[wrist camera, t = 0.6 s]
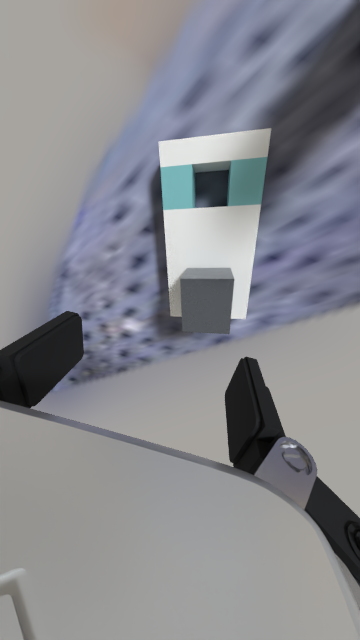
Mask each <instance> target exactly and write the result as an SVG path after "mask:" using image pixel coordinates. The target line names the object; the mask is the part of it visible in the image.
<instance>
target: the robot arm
mask: <svg viewBox="0 0 360 640" xmlns="http://www.w3.org/2000/svg"><path fill="white" fill-rule="evenodd" d="M83 354H84V350H83V334H82V319H81V317H79V314H77V313H74V312H70V311H66V312H64V313H62V314H61V315H59V316H57V317H56V318H54V319H52V320H51V321H49V322H47V323H45V324H44V325H42V326H41V327H39V328H37V329H35V330H34V331H32V332H30V333H29V334H27V335H25V336H23V337H22V338H20V339H18V340H17V341H15V342H13V343H12V344H10V345H8V346H7V347H5V348H3V349H2V350H0V640H360V518H359V517H358V516H357V515H356V514H355V513H354V512H353V511H352V510H351V509H350V508H349V507H348V506H347V505H346V504H345V503H344V502H343V501H342V500H340V498H339V497H338V496H337V495H336V494H335V493H334V492H333V491H332V490H331V489H330V488H329V487H327V486H326V485H325V484H324V483H323V482H322V481H321V480H320V479H319V478H318V477H317V467H316V463H315V462H314V459H313V457H312V456H311V455H310V453H309V452H308V451H307V450H306V449H305V448H304V447H303V446H302V445H301V444H300V443H298V442H297V441H295V440H293V439H291V438H288V437H286V436H285V433H284V430H283V428H282V425H281V422H280V419H279V416H278V413H277V410H276V408H275V405H274V402H273V399H272V397H271V393H270V391H269V389H268V388H267V387H266V386H265V383H264V380H263V377H262V374H261V371H260V368H259V365H258V362H257V360H256V359H253V358H249V357H245V358H244V359H242V358H241V360H240V361H239V364H238V366H237V368H236V370H235V372H234V374H233V377H232V379H231V381H230V383H229V386H228V388H227V390H226V392H225V406H226V418H227V433H228V446H229V458H230V462H232V463H233V466H234V467H230V466H228V465H225V464H222V463H218V462H215V461H212V460H209V459H205V458H202V457H199V456H196V455H192V454H189V453H186V452H182V451H179V450H175V449H172V448H168V447H164V446H161V445H158V444H154V443H151V442H147V441H144V440H141V439H137V438H133V437H130V436H126V435H123V434H119V433H116V432H112V431H109V430H105V429H102V428H98V427H95V426H91V425H88V424H84V423H80V422H77V421H73V420H70V419H66V418H62V417H59V416H55V415H52V414H48V413H44V412H41V411H37V410H33V409H30V408H31V407H32V406H35V405H37V404H38V403H39V402H40V401H41V400H42V399H43V398H44V397H45V396H46V394H48V393H49V392H50V391H51V390H52V389H53V388H54V387H55V385H56V384H57V383H58V382H59V381H60V380H61V379H62V378H63V377H64V376H65V375H66V374H67V373H68V372H69V371H70V370H71V369H72V368H73V367H74V366H75V365H76V364H77V363H78V362H79V361H80V360H81V359H82V357H83Z"/></svg>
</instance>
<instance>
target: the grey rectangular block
mask: <svg viewBox="0 0 360 640" xmlns="http://www.w3.org/2000/svg"><path fill="white" fill-rule="evenodd" d="M180 287H181V313H182V332H199V333H219V334H229V332H230V321H231V311H232V300H233V289H234V276H233V273H232V271H231V268H187V269H186V270H185V272H184V273H183V275H182V277H181V278H180Z"/></svg>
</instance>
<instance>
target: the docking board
mask: <svg viewBox="0 0 360 640" xmlns="http://www.w3.org/2000/svg"><path fill="white" fill-rule="evenodd" d="M270 134H271V128H267V129H259V130H251V131H243V132H234V133H226V134H218V135H210V136H201V137H193V138H185V139H177V140H169V141H160V142H159V154H160V168H161V183H162V197H163V212H164V227H165V241H166V256H167V271H168V285H169V300H170V315H171V316H176V317H182V313H181V287H180V278H181V277H182V275H183V273H184V272H185V270H186V269H187V268H231V271H232V273H233V276H234V289H233V300H232V311H231V319H246V313H247V305H248V298H249V290H250V283H251V275H252V268H253V261H254V253H255V246H256V238H257V231H258V223H259V216H260V209H261V201H262V194H263V186H264V179H265V172H266V164H267V157H268V149H269V142H270ZM220 170H229V177H228V193H227V206H224V207H207V208H195V173H198V172H209V171H220Z"/></svg>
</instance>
